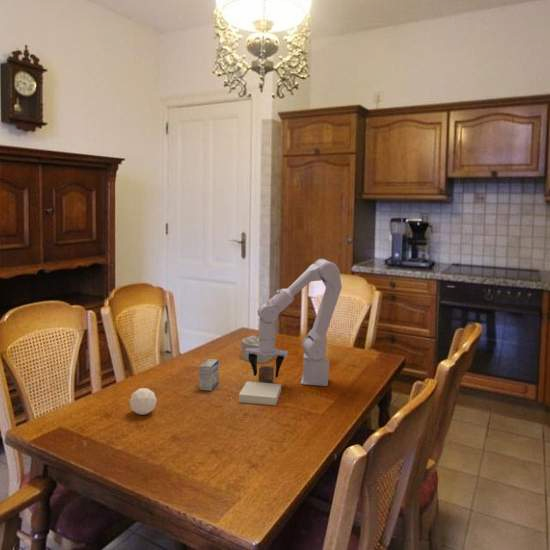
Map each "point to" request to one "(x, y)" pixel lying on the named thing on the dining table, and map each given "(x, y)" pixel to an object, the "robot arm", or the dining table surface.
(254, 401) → the base block
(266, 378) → the walnut block
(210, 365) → the medicine box
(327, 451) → the dining table surface
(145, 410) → the geometric ball
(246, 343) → the lumpy-topped squat cylinder
